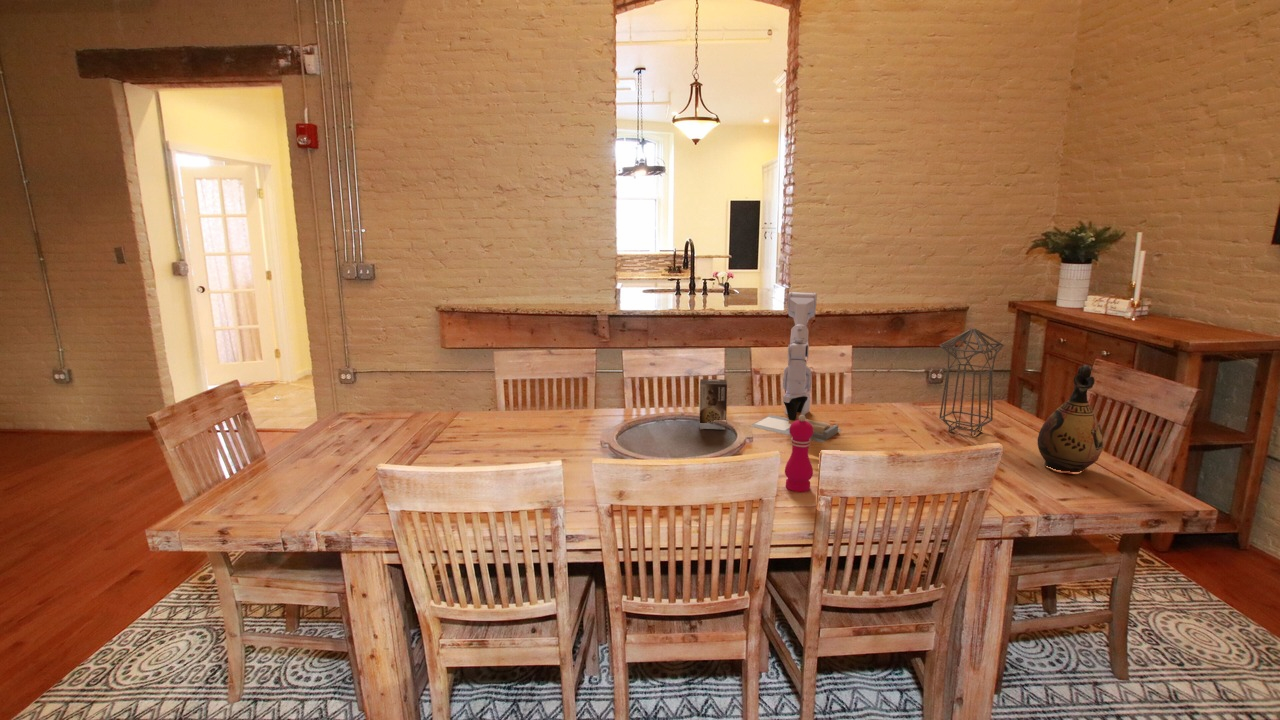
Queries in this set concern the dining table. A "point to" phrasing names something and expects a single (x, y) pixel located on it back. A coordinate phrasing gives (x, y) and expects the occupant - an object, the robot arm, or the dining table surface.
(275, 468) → the dining table surface
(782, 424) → the lane board
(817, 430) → the birch block
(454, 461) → the dining table surface
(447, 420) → the dining table surface
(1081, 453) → the ceramic jug
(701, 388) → the cookie box
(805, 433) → the pepper mill
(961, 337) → the geometric lantern
